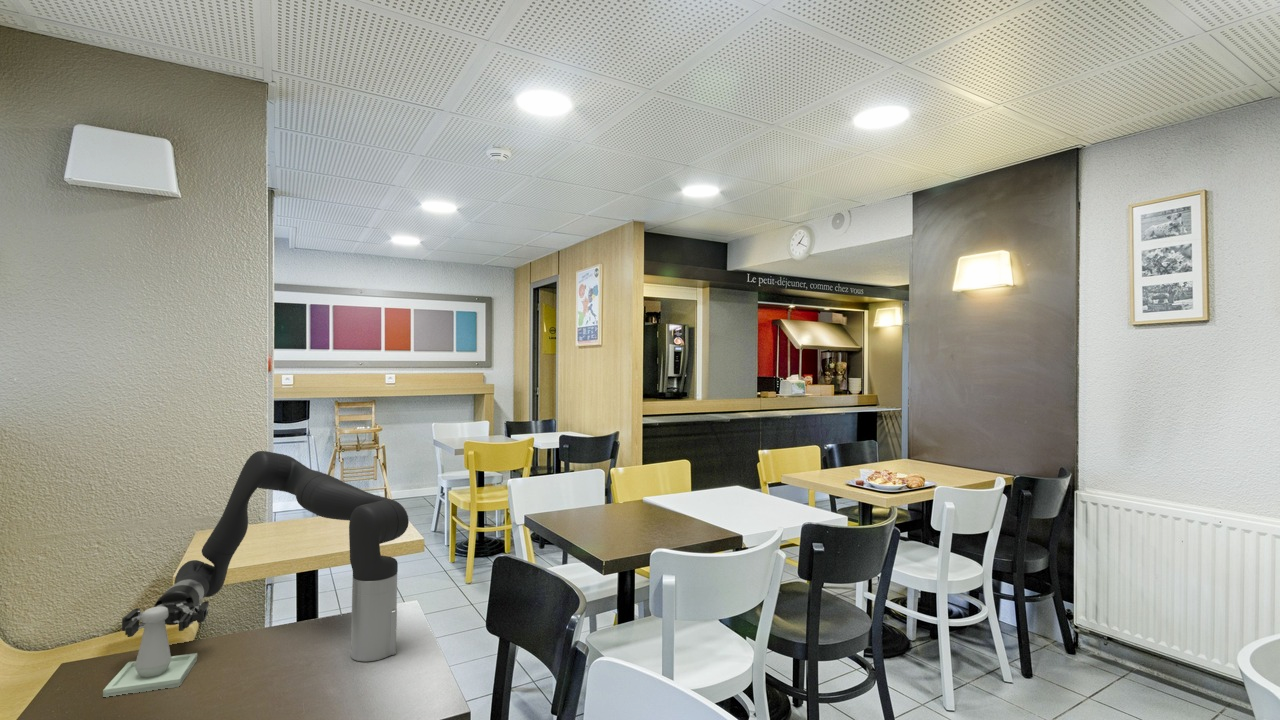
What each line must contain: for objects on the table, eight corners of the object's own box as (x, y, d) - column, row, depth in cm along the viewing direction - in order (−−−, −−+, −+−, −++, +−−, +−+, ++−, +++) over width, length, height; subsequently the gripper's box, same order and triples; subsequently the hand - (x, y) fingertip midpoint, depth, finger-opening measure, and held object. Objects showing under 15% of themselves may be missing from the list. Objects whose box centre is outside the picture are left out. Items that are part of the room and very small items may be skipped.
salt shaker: (150, 682, 121) (152, 615, 122) (126, 678, 122) (129, 612, 123) (178, 668, 127) (180, 604, 127) (155, 665, 128) (157, 602, 128)
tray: (197, 660, 132) (197, 653, 132) (179, 686, 121) (179, 679, 121) (128, 669, 128) (128, 662, 128) (102, 697, 117) (103, 689, 117)
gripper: (142, 588, 138) (112, 615, 123) (217, 581, 143) (197, 606, 128) (141, 621, 138) (111, 653, 123) (216, 613, 143) (196, 642, 128)
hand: (155, 629), depth 126 cm, fingers open, 8 cm apart
